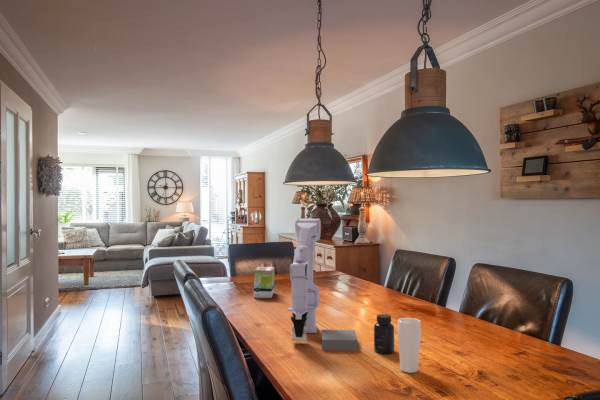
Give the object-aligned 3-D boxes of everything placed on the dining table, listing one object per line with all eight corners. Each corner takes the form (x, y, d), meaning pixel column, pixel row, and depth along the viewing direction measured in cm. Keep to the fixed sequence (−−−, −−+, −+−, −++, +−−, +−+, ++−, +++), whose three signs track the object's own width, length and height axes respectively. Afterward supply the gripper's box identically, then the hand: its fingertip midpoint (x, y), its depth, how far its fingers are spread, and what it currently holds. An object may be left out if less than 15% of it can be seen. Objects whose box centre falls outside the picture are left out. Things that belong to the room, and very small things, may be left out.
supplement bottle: (380, 346, 156) (380, 312, 156) (397, 350, 151) (398, 315, 151) (370, 351, 150) (370, 316, 150) (388, 356, 146) (388, 319, 146)
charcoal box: (321, 340, 164) (321, 329, 164) (354, 341, 163) (354, 330, 163) (321, 351, 152) (322, 339, 152) (357, 352, 151) (357, 340, 151)
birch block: (292, 336, 161) (292, 322, 161) (306, 336, 160) (306, 322, 161) (291, 340, 156) (291, 326, 156) (306, 340, 155) (306, 326, 156)
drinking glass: (416, 366, 137) (416, 317, 137) (423, 374, 130) (423, 323, 130) (394, 366, 137) (395, 317, 137) (400, 374, 130) (400, 323, 130)
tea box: (272, 298, 234) (272, 270, 234) (253, 298, 235) (253, 270, 235) (274, 292, 249) (274, 266, 250) (256, 292, 250) (256, 266, 250)
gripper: (289, 291, 166) (289, 328, 166) (286, 300, 151) (286, 340, 151) (308, 292, 165) (308, 328, 165) (307, 300, 151) (307, 341, 151)
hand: (299, 334), depth 158 cm, fingers closed on birch block, 5 cm apart
